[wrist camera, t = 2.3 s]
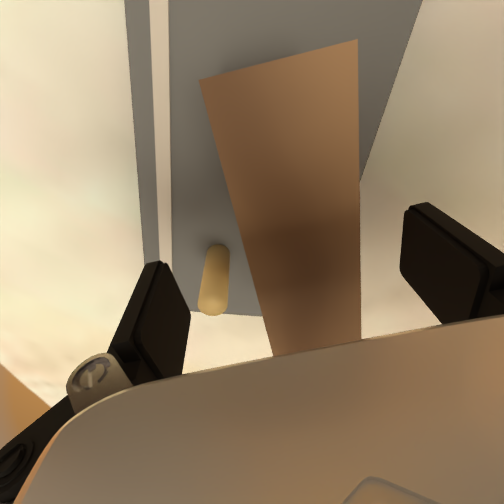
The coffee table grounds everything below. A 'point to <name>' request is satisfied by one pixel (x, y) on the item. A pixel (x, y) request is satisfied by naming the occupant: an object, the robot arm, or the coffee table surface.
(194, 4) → the board
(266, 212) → the wooden block
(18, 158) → the coffee table surface
